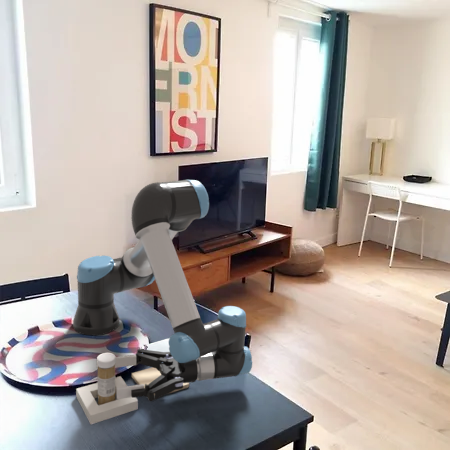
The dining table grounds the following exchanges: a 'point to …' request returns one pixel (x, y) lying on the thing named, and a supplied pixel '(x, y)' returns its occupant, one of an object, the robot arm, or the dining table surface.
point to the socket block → (107, 409)
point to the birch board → (150, 377)
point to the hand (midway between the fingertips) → (113, 377)
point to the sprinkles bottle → (106, 378)
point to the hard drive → (159, 346)
